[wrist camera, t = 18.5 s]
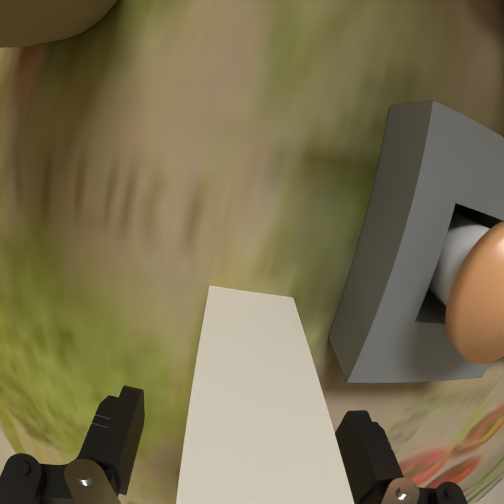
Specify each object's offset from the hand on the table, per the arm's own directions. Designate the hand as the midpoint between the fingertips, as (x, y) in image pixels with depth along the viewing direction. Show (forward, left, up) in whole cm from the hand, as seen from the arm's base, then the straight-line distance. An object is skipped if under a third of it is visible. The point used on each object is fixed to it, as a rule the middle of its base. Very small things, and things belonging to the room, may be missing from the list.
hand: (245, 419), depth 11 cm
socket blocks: (-16, -6, -7) cm, 19 cm away
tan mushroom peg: (-10, -6, -6) cm, 13 cm away
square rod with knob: (0, 0, -7) cm, 7 cm away
